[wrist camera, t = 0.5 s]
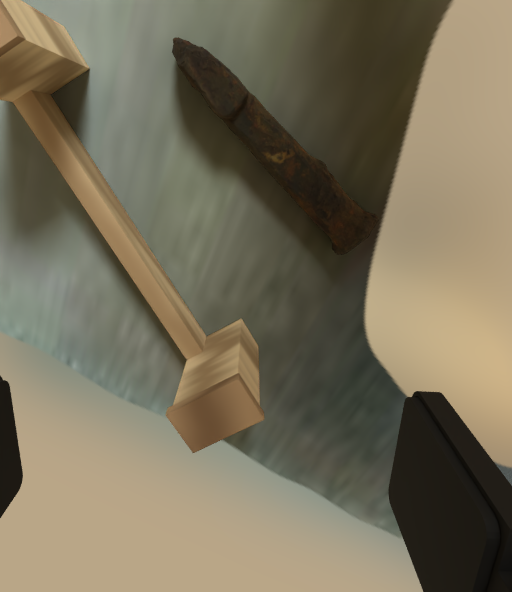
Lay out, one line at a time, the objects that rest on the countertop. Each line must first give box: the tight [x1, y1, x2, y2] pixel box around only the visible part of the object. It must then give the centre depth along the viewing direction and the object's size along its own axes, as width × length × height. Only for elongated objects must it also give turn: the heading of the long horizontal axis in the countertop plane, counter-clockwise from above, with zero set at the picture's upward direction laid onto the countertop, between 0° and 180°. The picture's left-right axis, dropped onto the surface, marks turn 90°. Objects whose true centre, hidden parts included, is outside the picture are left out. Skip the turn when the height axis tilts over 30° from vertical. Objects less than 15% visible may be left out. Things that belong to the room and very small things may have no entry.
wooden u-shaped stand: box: [0, 0, 264, 453], centre depth 30 cm, size 5×28×11 cm, turn 29°
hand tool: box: [172, 38, 379, 255], centre depth 32 cm, size 19×4×5 cm, turn 42°
